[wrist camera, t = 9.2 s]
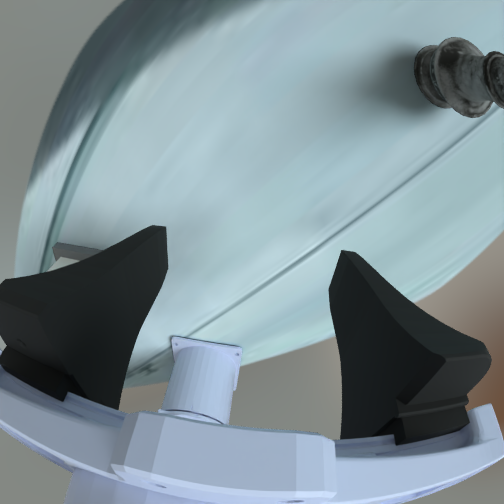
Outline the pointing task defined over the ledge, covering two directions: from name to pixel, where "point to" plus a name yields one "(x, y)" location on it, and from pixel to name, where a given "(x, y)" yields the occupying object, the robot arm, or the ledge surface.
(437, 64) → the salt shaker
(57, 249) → the tower base
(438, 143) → the ledge surface
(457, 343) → the robot arm
